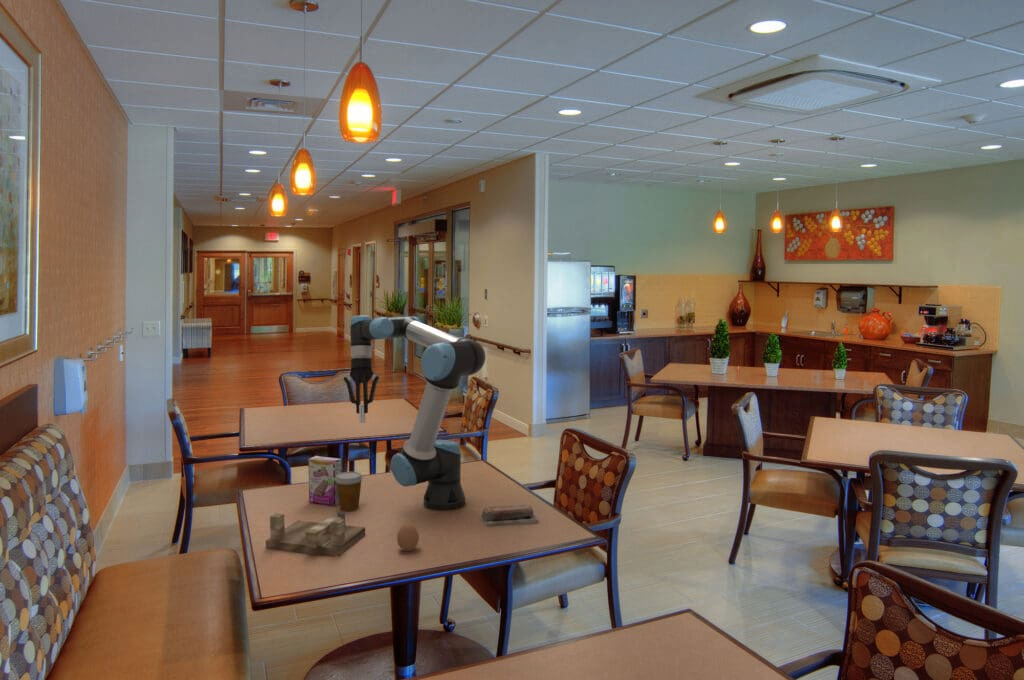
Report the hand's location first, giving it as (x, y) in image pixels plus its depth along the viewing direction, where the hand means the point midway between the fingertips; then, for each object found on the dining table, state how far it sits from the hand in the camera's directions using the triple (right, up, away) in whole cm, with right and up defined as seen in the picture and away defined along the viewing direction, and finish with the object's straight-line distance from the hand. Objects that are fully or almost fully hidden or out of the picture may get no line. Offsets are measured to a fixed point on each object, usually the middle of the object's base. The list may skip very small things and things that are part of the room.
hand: (362, 422), depth 258 cm
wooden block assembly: (-6, -33, -38) cm, 50 cm away
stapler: (+54, -32, -18) cm, 65 cm away
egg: (+23, -34, -44) cm, 60 cm away
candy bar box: (-13, -29, -1) cm, 32 cm away
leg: (-2, -30, -43) cm, 52 cm away
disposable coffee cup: (-3, -30, -7) cm, 31 cm away
